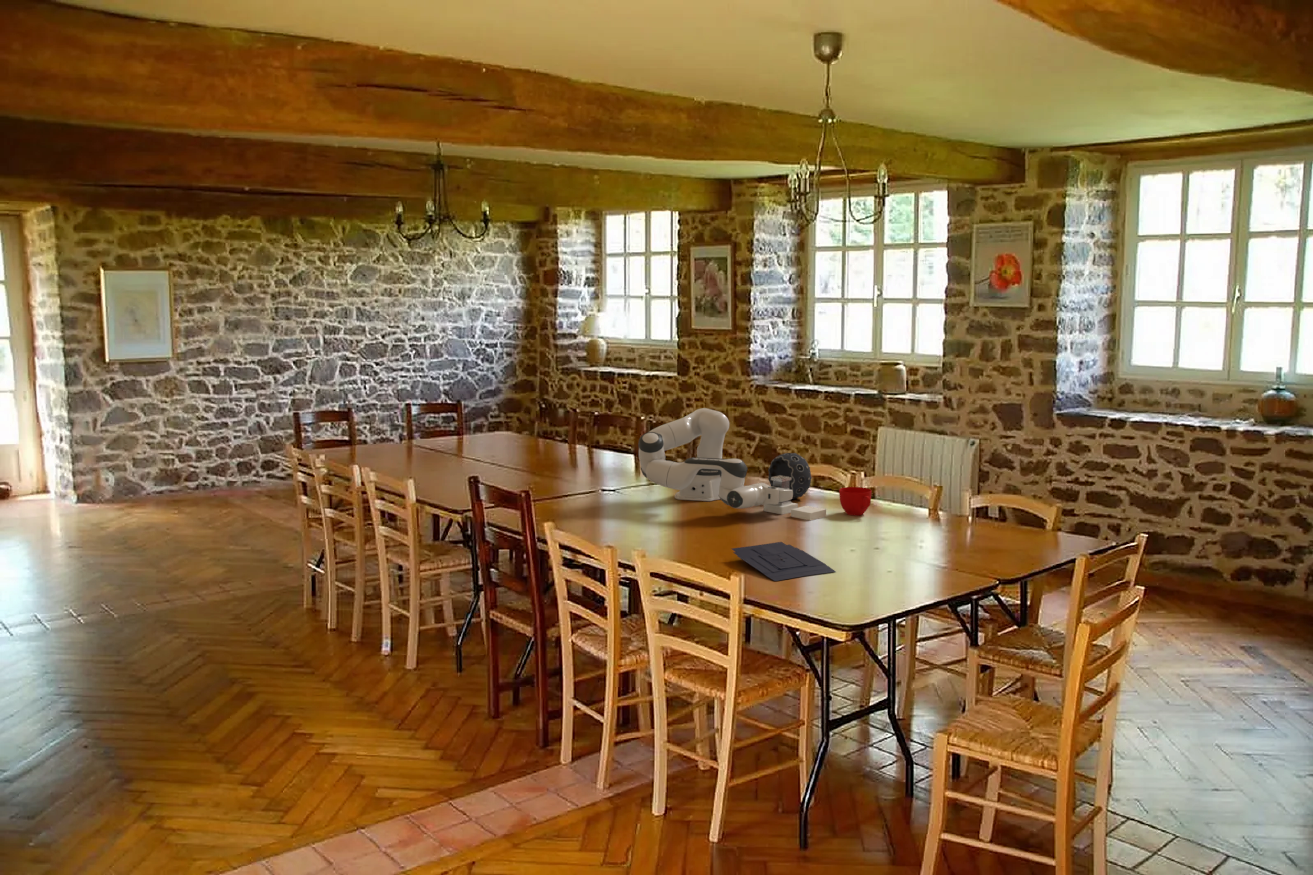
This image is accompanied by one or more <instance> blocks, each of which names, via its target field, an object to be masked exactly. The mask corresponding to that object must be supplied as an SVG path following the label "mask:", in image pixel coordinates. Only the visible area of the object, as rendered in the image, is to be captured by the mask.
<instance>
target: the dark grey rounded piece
mask: <svg viewBox="0 0 1313 875" xmlns="http://www.w3.org/2000/svg"><path fill="white" fill-rule="evenodd" d="M811 472H812V471H811V467H810V465H809V463H808V461H807V460H806V458H804V457H803V456H801V455H800V454H797V453H796V452H786V453H781V454H779V455H777V456H776V457H775V458H773V459H772V460H771V462H770V466H769V467H768V477H767V478H768V482H769V484H770V486H773V480H771V477H775V476H780V475H781V476H787V477H791V480H789V489H790V490H793V498H792V499H799V498H801V497H803V496H804V495H805V494H806V493H807V492H808V490H809V489H810V486H811V481H812V473H811ZM792 499H791V500H792Z"/></svg>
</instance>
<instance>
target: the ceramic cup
mask: <svg viewBox="0 0 1313 875" xmlns="http://www.w3.org/2000/svg"><path fill="white" fill-rule="evenodd" d="M838 492H839V502H840V505H841V506H840V507H842V509H843V511H844V513H846V515H848V516H855V517H856V516H862V515H864V513H865V512H867V511H868V509H869V507H870V506H871V502H872V501H871V500H872V489H871V488H867V487H861V486H847V487H841V488H839V490H838Z"/></svg>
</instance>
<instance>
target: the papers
mask: <svg viewBox="0 0 1313 875" xmlns="http://www.w3.org/2000/svg"><path fill="white" fill-rule="evenodd" d="M731 550H732V551H733V552H732V553H733V554H735V555H736V556H737V557H738V558H740V560H742V561H744V562H746V563H747V564H749V565H750V566H751V567H753V568H755V569H756V570H757V571H759V572H760V573H762V574H763V575H765V576H766V577H767V578H769V579H771V580H772V581H774V582H778V581H784V580H789V579H794V578H800V577H806V576H813V575H820V574H821V575H822V574H827V573H836V572H837V571H836V570H835V569H833V568H831V567H830V566H829V565H827V564H826V563H824V562H822V561H821V560H819V559H818V558H816V557H815V556H812V555H811V554H809V553H808V552H806V551H804V550H802V549H800V548H798V547H795V546H793V545H791V544H786V543H785V542H782V541H777V542H769V543H764V544H757V545H748V546H741V547H734V548H731Z"/></svg>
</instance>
